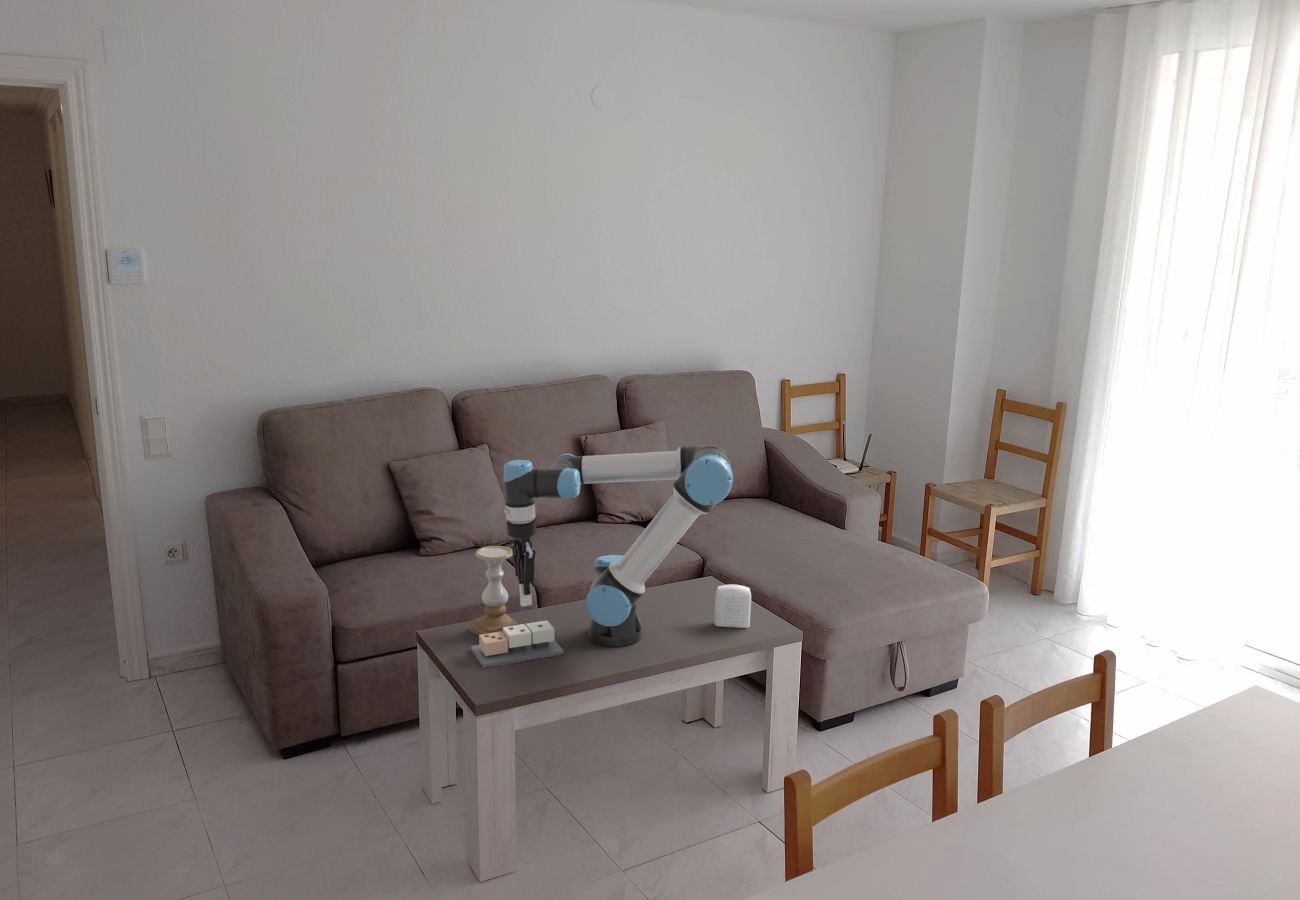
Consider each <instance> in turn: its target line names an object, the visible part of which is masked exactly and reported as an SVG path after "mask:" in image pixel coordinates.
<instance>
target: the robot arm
mask: <svg viewBox="0 0 1300 900" xmlns="http://www.w3.org/2000/svg"><path fill="white" fill-rule="evenodd" d="M732 462H733V461H732V459H731V457H730V455H729V454H728V452H727V451H725V449H723V448H722V447H719V446H717V445H712V444H704V445H703V444H701V445H700V444H699V445H691V446H689V445H688V446H679V447H678V448H677V449H676V450H671V451H668V450H667V451H652V452H651V451H649V452H633V453H631V452H630V453H617V454H615V453H614V454H602V455H601V454H597V455H581V456H580V455H579V456H576V455H573V454H572V453H563V454H561V455H559V456H557V458H555V460H553V462H552V465H551V466H550V467H549V468H534V466H533V463H532V462H531V461H530V460H529V459H528V460H524V459H515V460H511V461H508V462H506V463H505V464H504V465H503V480H502V482H503V488H504V489H503V490H504V499H505V500H504V503H505V509H504V510H503V513H504V514H505V516H506V517H505V518H506V520H507V521H506V532H507V533H506V534H507V535H508V536H509V537H510V538H513V539H510V542H509V543H510V546H511V549H512V553H513V555H512V559H513V566H514V573H515V574H514V575H515V576H516V577H517V580H518V586H519V587H518V589H519V602H520V603H519V604H520V606H521V607H528V606H533V598H532V583H534V582H535V581H534V580H535V558H536V550H535V549H533V550H532V548H533V542H532V540H531V537H532V536H534V535H535V534H536V532H537V525H536V523H537V522H536V519H535V518H536V503H535V499H569V498H571V499H572V498H577V497H578V496H579V495H580V492H581V491H580V490H581V485H587V484H605V483H606V484H608V483H624V482H625V483H626V482H646V481H649V482H650V481H666V480H668V481H669V480H671V481H672V480H675V482H674V483H673V484H672V488H673V489H672V490H673V492H672V493H673V494H672V495H671V496H670V497H669V499H668V500H667V501H666V503H665V504H664V505H663V506H662V507H661V509H660V510H659V511H658V513H657V514H655V516H654V518H653V519H652V520H651V521H650V522H649V524H648V525H647V526H646V528H644V530H643V531H642V532H641V534H640V535H639V536H638V538H637V539H636V540H635V541H634V543H633V544H632V545H631V546H630V547H629V549H628V550H627V551H626V552H625V554H624V555H623V554H622V555H620V554H609V555H601V556H598V557H597V558H596V559H595V560H594V566H593V567H594V578H593V581H592V584H591V586H590V588H589V591H588V592H587V595H586V598H585V603H586V604H585V606H586V607H585V608H586V610H587V611H586V612H587V613H588V615H589V617H590V618H591V619H590V622H589V625H588V628H587V636H588V639H589V640H590V641H591V642H592V643H595V644H596V645H600V646H604V647H615V648H616V647H617V648H619V647H625V646H631V645H634V644H637V643H638V642H640V641H641V639H642V638H643V626H642V622H641V620H640V616H639V614H638V609H637V602H638V600H639V599H640V598H641V597H642V596H643V594H644V593H645V592H646V587H645V583H646V582H647V580H648V579H649V577H650V576H652V574H653V573H654V572H655V570H656V569H657V568H658V567H659V565H660V564H662V562H663V560H664V559H665V558H666V557H667V555H668V554H670V552H671V551H672V550H673V548H674V547H675V546H676V544H677V543H678V542H679V541H680V539H681V538H682V537H683V536H684V535H685V533H686V532H688V529H689V528H691V527H692V525H693V523H694V522H695V521H696V520H697V518H699V516H700V515H708V514H709V513H710V512H711V511H712V510H713V509H714V507H715V506H716V505H717V504H718V503H721V502H722V501H723V500H724V499H725V498H726V497H728V495H729V493H730V492H731V490H732V487H733V483H734V475H733V474H734V473H733V463H732Z"/></svg>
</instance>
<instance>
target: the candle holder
mask: <svg viewBox="0 0 1300 900" xmlns="http://www.w3.org/2000/svg"><path fill="white" fill-rule="evenodd" d="M475 556H476V557H477V558H478V559H479V560H481V561H485V562H486V563H487V570H486V571H485V572H484V574H485V577H486V578H487V581H488V584H487V585H486V588H485V589H484V590H483V592H482V595H481V601H482V602H483V604H485V606H484V610H483V611H484V613H485V614H484V615H482V616H481V617H478V618H474V619H473V620H472V623H469V631H470V632H471V633H472V632H473V633H474V634H473V633H472V634H473V635H475V634H476V635H477V636H476V635H475V636H476V637H478V636H479V635H482V634H488V633H495V632H502V633H503V627H508V626H514V625H519V623H518V622H517V621H516V620H515V619H513V618H512V617H511V616H509V615H508V614H507V613H506V612H507V607H506V605H505V604H506V603H507V602H508V600H509V593H508V591H507V589H506V588H505V586H504V585H503V583H502V579H503V576H504V575H505V571H503V569H502V564H503V562H504V560H507V559H510V558H511V557H513V553H512V548H510V547H508V546H503V545H488V546H484V547H483V546H482V547H480V548H478V549H477V550H476V551H475Z"/></svg>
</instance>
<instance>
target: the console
mask: <svg viewBox="0 0 1300 900" xmlns="http://www.w3.org/2000/svg"><path fill="white" fill-rule="evenodd" d="M471 650H472V651H471ZM470 651H471V653H472V654H473V653H474V654H473V655H474V657H475V656H476V657H475V658H476V660H477V659H478V660H477V661H478V663H479V662H480V663H479V665H480V666H481V665H482V666H481V668H482V669H487V668H486V667H489V668H492V667H491V666H494V667H498V666H497V665H500V666H503V665H502V664H506V665H510V664H509V663H512V664H514V663H513V662H518V661H523V660H524V661H523V662H526V661H525V660H529V661H531V660H530V659H535V660H538V659H537V658H541V659H545V658H544V657H547V658H551V656H552V657H556V655H558V656H561V654H565V653H564V651H565V650H564V649H563V648H562V646H560V644H559V643H558V642H557V641H556V640H555V639H554V641H550V642H544V643H538V644H532V642H531V645H526V646H520V647H514V648H509V647H508V652H507V653H501V654H495V655H489V656H485V655H484V653H483V652H482V650H481V649H480V647H479V644H477V645H471V646H470ZM518 663H519V662H518Z"/></svg>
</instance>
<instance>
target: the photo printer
mask: <svg viewBox="0 0 1300 900" xmlns="http://www.w3.org/2000/svg"><path fill="white" fill-rule="evenodd" d="M714 597H715V600H714V601H715V603H714V617H713V618H714V622H713V624H714V626H716V627H719V628H720V627H722V628H723V627H724V628H739V629H749V627H750V626H751V623H750V622H751V609H752V607H751V605H752V593H751V589H750V587H749V586H748V587H747V586H745V585H740V584H733V583H732V584H724V585H719V586H717V589H716V590H715V596H714Z"/></svg>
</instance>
